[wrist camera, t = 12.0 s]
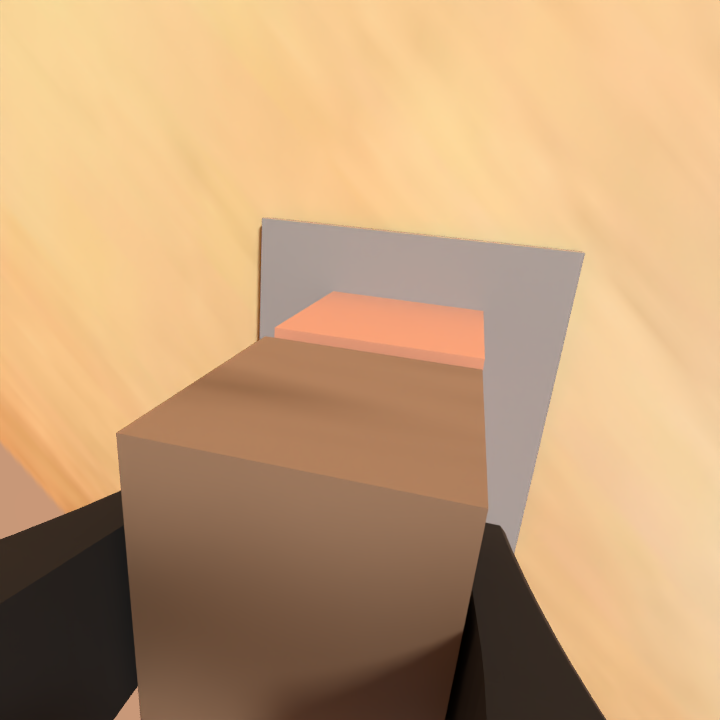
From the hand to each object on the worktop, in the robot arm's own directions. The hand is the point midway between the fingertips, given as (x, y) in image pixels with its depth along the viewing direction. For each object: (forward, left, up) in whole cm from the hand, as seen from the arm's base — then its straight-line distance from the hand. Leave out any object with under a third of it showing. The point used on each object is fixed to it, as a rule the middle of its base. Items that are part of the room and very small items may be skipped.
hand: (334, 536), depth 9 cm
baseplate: (0, 0, -7) cm, 7 cm away
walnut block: (0, 0, -2) cm, 2 cm away
